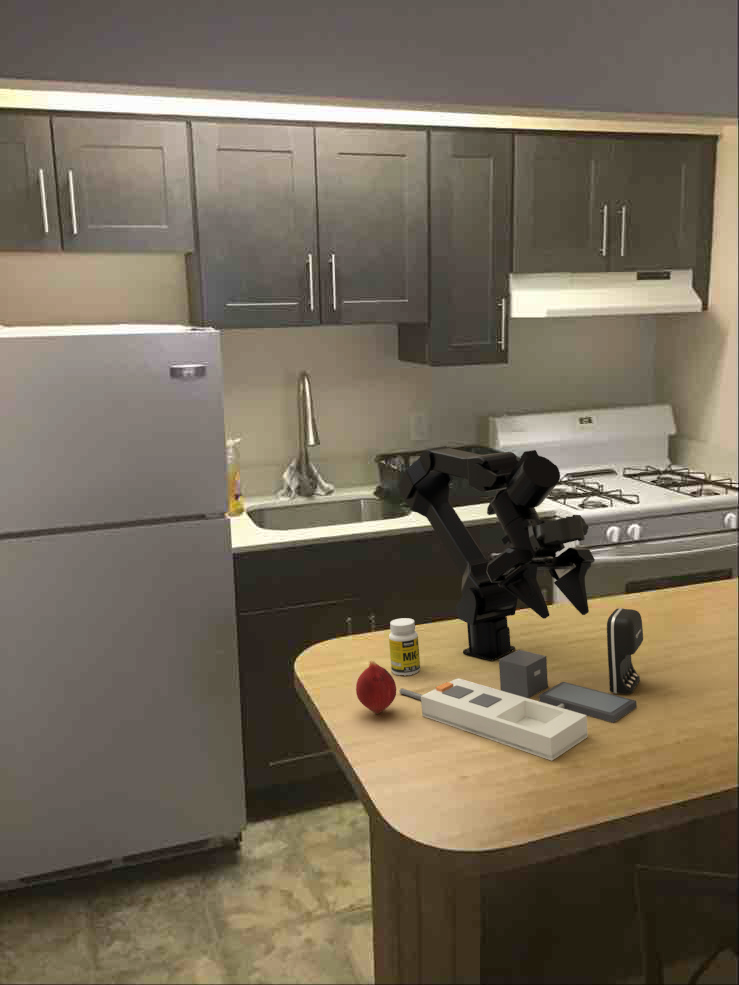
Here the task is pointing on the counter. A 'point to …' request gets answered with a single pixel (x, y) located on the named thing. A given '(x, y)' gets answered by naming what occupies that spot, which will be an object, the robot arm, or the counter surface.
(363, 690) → the onion
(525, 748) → the power strip
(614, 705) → the phone
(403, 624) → the supplement bottle
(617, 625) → the battery charger
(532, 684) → the charger cube
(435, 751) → the counter surface
